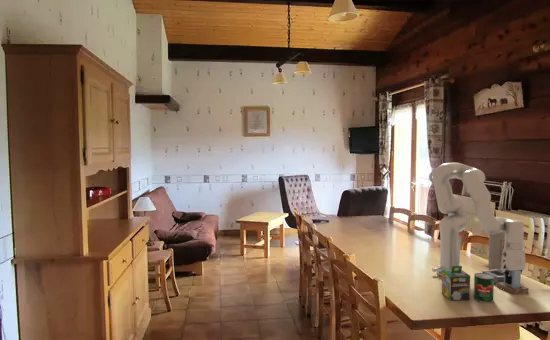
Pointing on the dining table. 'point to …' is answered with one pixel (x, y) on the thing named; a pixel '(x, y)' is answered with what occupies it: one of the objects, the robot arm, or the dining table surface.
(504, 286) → the brown rectangular tray
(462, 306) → the dining table surface
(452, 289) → the chalk box
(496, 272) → the port
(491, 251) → the thermos bottle
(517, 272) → the light blue block
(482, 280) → the canned tomato
